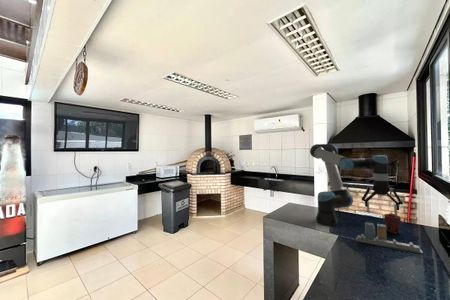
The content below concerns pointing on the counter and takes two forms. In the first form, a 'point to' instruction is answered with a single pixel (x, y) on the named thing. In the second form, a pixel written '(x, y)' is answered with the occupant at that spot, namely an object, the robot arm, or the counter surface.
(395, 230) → the mechanical component
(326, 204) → the robot arm
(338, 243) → the counter surface
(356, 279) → the counter surface
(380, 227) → the pale blue-grey block
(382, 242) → the rail
